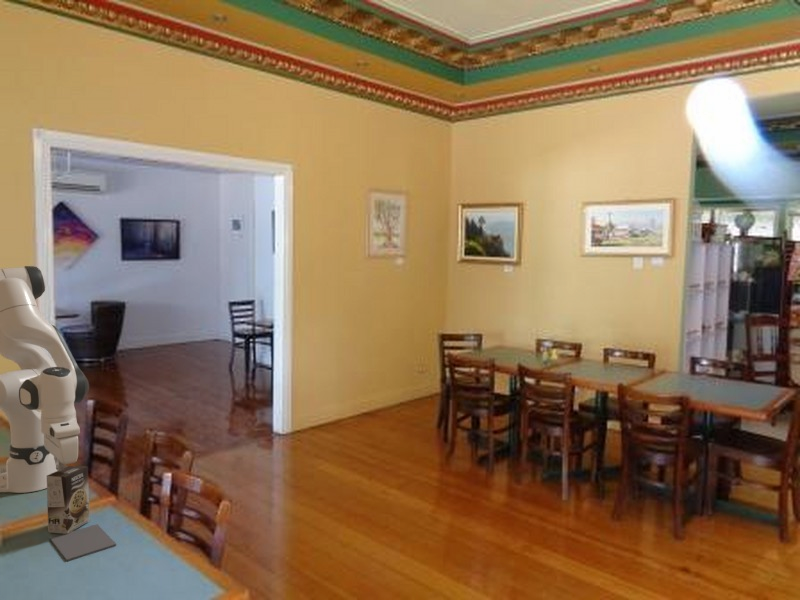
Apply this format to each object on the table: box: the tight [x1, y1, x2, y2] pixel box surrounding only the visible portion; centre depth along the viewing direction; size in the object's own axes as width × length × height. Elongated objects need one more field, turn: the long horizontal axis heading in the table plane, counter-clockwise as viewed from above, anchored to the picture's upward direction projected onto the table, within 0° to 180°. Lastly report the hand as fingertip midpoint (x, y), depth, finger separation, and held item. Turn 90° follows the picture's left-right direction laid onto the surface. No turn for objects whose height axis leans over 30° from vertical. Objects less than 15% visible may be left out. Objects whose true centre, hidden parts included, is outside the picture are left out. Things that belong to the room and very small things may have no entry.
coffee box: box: [46, 465, 91, 535], centre depth 168 cm, size 9×6×16 cm
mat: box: [49, 524, 117, 562], centre depth 161 cm, size 15×12×1 cm
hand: (60, 470), depth 173 cm, fingers closed
